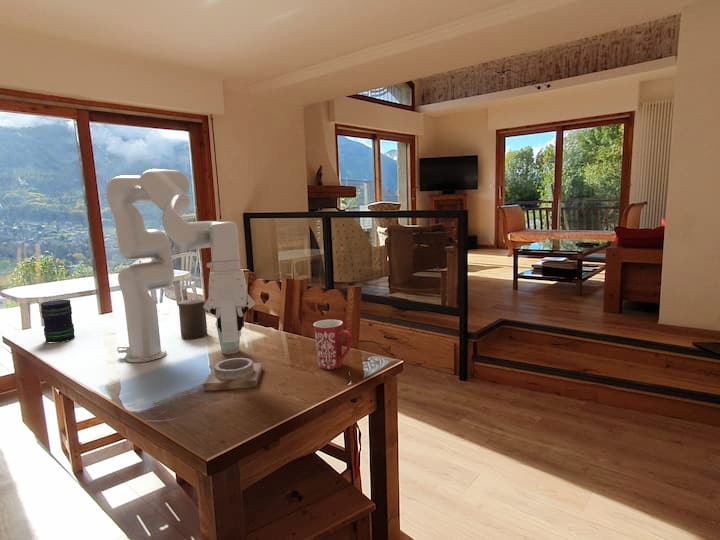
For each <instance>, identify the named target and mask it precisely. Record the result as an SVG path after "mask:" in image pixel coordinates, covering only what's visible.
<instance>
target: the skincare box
mask: <svg viewBox="0 0 720 540" xmlns="http://www.w3.org/2000/svg"><path fill="white" fill-rule="evenodd" d="M219 304H220V316H221V327H222V338H223V342H237V341H238V340H239V338H240V339H241V337H242V330H241V331H239V330H238V325H237V317H238V311H237V308H236V307H235V303H234V300H223V301H219Z"/></svg>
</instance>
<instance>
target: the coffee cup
mask: <svg viewBox="0 0 720 540" xmlns="http://www.w3.org/2000/svg"><path fill="white" fill-rule="evenodd" d="M214 325H215V326H216V331H217V335H218V341H219V344H220V345H219V346H220V352H221V354H223V355H234V354H237V353H239V352H240V345H241V343H240V342H241V340H240V339H241V337H240V338H239V340H238V341H237V342H223V338H222V332H220V328H218V323H217V319H216V321H215V324H214Z"/></svg>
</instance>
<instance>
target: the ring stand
mask: <svg viewBox="0 0 720 540" xmlns="http://www.w3.org/2000/svg"><path fill="white" fill-rule="evenodd" d="M262 371H263V362H254V361H253V360H252V359H250V358H245V357H235V358H234V357H233V358H228V359H224V360H221V361H219V362H216V363H215V365H214V367H213V368H212V369H211V371H210V373H209V374H208V376H207V377H206V379H205V380H204V383H203V391H204V392H206V391H219V390H221V391H222V390H231V389H232V390H234V389H249V388H257V387H258V383H259V381H260V378H261V375H262Z"/></svg>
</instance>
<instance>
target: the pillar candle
mask: <svg viewBox="0 0 720 540" xmlns="http://www.w3.org/2000/svg"><path fill="white" fill-rule="evenodd" d="M205 303H206V301H205V299H202V298H201V299H200V298H199V299H197V298H195V299H194V298H193V299H192V298H190V299H186V300H185V299H184V300H181V301H179V302H178V313H179V325H180V326H179V327H180V328H179V329H180V337H181V338H182V339H185V340H193V339H201V337H202V338H204V337H206V336H208V326H207V324H208V323H207V313H206V311H207V310H206V309H205V308H203V306H204V304H205Z"/></svg>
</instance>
